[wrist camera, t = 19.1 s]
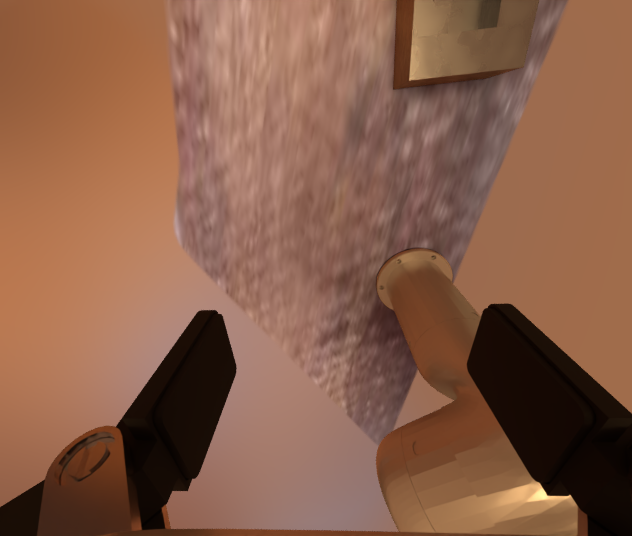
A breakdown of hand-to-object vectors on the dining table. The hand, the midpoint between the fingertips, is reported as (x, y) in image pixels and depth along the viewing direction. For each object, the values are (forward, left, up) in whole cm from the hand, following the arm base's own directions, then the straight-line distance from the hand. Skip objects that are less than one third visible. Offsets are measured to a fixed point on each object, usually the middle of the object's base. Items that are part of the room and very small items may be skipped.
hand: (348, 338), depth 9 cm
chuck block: (+6, -20, -31) cm, 38 cm away
